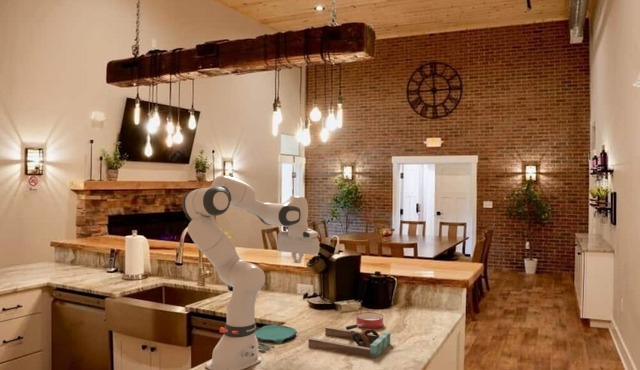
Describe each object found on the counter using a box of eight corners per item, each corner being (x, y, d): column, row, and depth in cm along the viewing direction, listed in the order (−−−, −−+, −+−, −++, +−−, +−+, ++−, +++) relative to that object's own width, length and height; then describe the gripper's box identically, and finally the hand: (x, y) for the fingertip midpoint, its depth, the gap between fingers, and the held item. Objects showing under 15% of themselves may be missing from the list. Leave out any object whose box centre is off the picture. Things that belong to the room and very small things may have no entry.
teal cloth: (304, 333, 230) (304, 328, 230) (267, 355, 203) (267, 350, 203) (268, 327, 239) (268, 322, 239) (229, 347, 213) (229, 342, 213)
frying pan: (366, 343, 217) (366, 329, 217) (338, 339, 222) (338, 325, 222) (386, 323, 247) (386, 310, 246) (361, 319, 252) (361, 307, 252)
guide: (375, 358, 200) (375, 346, 200) (308, 345, 213) (308, 334, 213) (390, 343, 217) (390, 332, 217) (327, 333, 230) (327, 322, 230)
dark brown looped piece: (374, 342, 220) (380, 329, 216) (375, 359, 211) (381, 345, 208) (348, 336, 219) (354, 322, 215) (348, 352, 210) (354, 339, 207)
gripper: (274, 231, 224) (273, 261, 225) (314, 234, 215) (314, 266, 216) (281, 229, 230) (281, 259, 230) (321, 233, 221) (320, 263, 221)
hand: (297, 262), depth 223 cm, fingers closed
